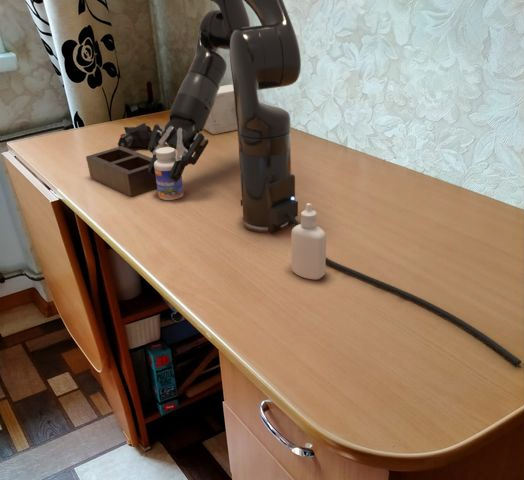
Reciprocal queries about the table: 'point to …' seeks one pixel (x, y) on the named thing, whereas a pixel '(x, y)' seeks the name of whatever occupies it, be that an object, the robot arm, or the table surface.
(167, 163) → the pill bottle
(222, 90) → the cosmetics box
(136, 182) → the rack
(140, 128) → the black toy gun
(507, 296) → the table surface
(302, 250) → the eye dropper bottle
